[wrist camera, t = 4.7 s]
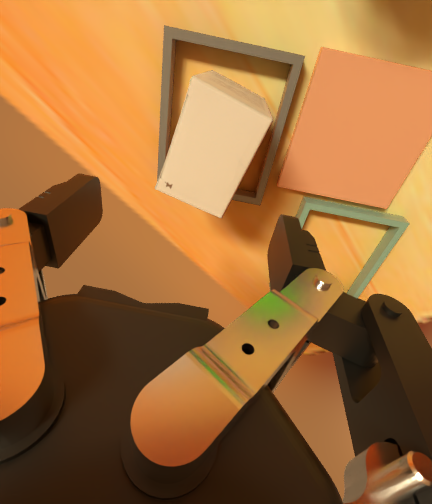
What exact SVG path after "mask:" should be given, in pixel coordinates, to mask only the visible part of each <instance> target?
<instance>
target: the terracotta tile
mask: <svg viewBox="0 0 432 504" xmlns="http://www.w3.org/2000/svg"><path fill="white" fill-rule="evenodd" d="M431 136H432V71H430V70H425V69H421V68H416V67H412V66H407V65H402V64H398V63H393V62H389V61H384V60H379V59H375V58H370V57H366V56H361V55H356V54H352V53H347V52H343V51H338V50H333V49H329V48H324V47H321V49H320V52H319V55H318V58H317V61H316V64H315V67H314V70H313V73H312V76H311V79H310V83H309V86H308V89H307V92H306V95H305V98H304V101H303V104H302V107H301V110H300V114H299V117H298V120H297V123H296V126H295V129H294V132H293V135H292V138H291V141H290V145H289V148H288V151H287V154H286V157H285V160H284V163H283V166H282V169H281V172H280V176H279V179H278V182H277V186H278V187H282V188H287V189H292V190H297V191H302V192H307V193H312V194H316V195H321V196H326V197H331V198H336V199H341V200H346V201H351V202H355V203H360V204H365V205H370V206H375V207H380V208H385V209H387V208H388V206H389V204H390V203H391V201H392V199H393V198H394V196H395V195H396V193H397V191H398V190H399V188H400V186H401V185H402V183H403V182H404V180H405V178H406V177H407V175H408V173H409V172H410V170H411V169H412V167H413V165H414V164H415V162H416V160H417V159H418V157H419V156H420V154H421V152H422V151H423V149H424V147H425V146H426V144H427V142H428V141H429V139H430V138H431Z"/></svg>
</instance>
